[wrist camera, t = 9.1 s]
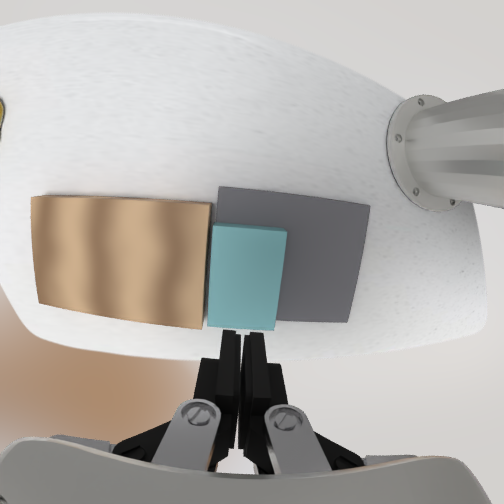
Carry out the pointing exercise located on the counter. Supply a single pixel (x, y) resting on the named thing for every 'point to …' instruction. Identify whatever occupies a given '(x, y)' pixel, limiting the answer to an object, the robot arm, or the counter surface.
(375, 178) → the counter surface
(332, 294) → the charcoal mat
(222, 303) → the teal tile
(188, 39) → the counter surface
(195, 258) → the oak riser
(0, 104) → the bread roll
